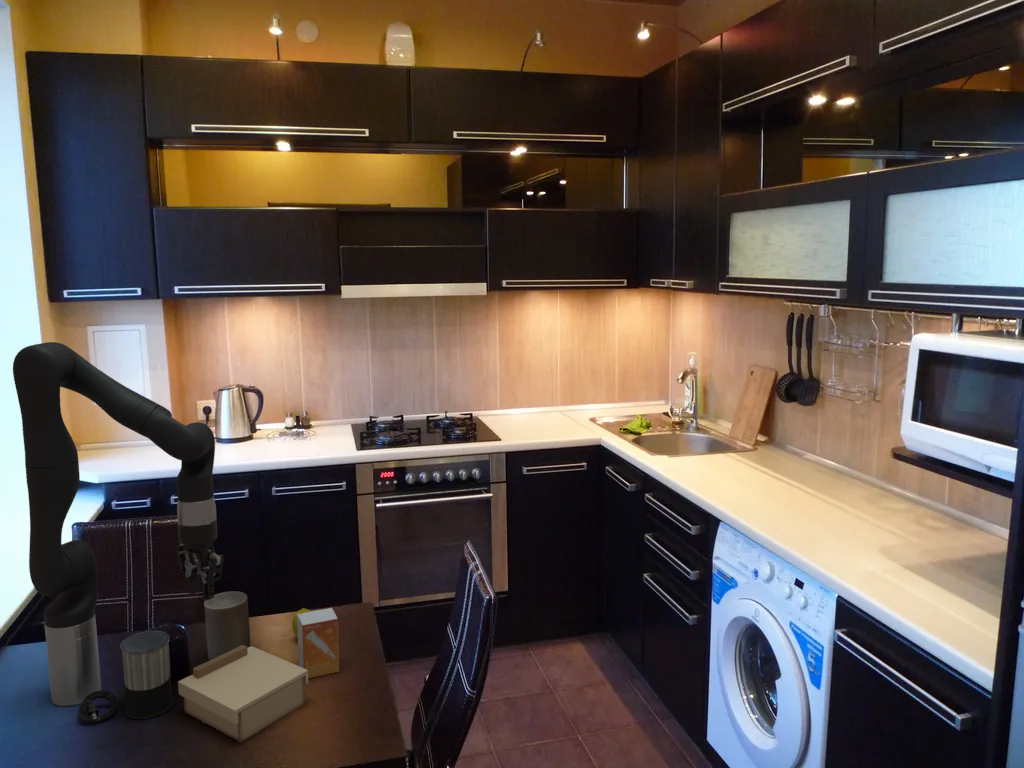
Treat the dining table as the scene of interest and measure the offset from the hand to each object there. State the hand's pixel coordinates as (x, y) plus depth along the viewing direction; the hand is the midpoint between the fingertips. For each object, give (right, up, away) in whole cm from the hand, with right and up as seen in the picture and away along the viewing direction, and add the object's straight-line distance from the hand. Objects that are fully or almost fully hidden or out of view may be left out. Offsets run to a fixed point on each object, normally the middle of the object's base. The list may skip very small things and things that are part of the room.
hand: (201, 595), depth 161 cm
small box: (+22, -20, +11) cm, 32 cm away
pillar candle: (-1, -19, +18) cm, 26 cm away
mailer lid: (+11, -18, -5) cm, 21 cm away
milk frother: (-13, -23, -5) cm, 27 cm away
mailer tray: (+11, -22, -4) cm, 25 cm away
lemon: (+15, -18, +25) cm, 35 cm away
